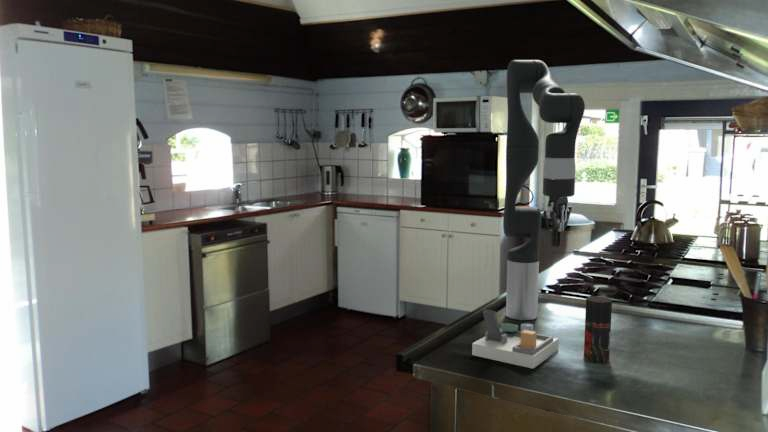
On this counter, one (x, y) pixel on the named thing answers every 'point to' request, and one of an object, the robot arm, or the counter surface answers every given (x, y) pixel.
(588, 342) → the deodorant
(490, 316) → the paddle lever
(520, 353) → the panel
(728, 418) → the counter surface
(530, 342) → the slider knob
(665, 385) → the counter surface
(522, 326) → the push button
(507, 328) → the block
